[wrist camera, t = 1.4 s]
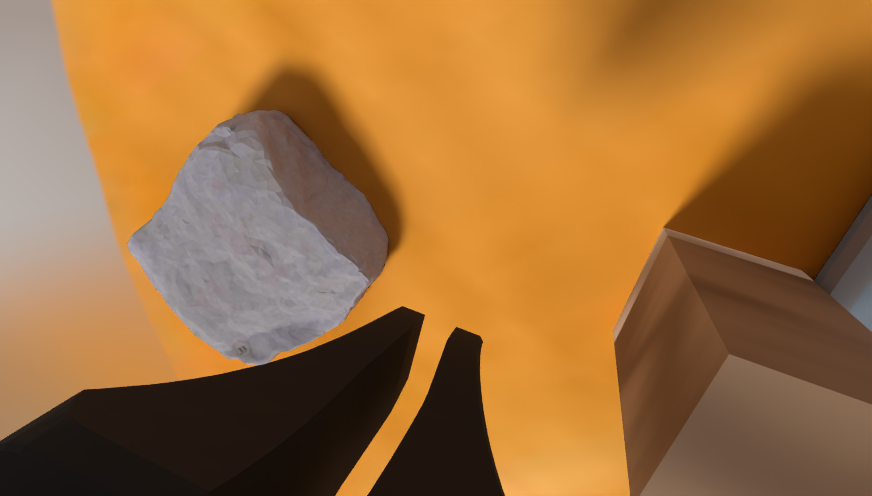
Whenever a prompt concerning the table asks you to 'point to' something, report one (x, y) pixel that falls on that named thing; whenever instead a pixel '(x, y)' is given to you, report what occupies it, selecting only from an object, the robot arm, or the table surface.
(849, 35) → the table surface
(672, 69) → the table surface
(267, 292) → the stone block
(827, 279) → the tipping mat
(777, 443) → the walnut block
